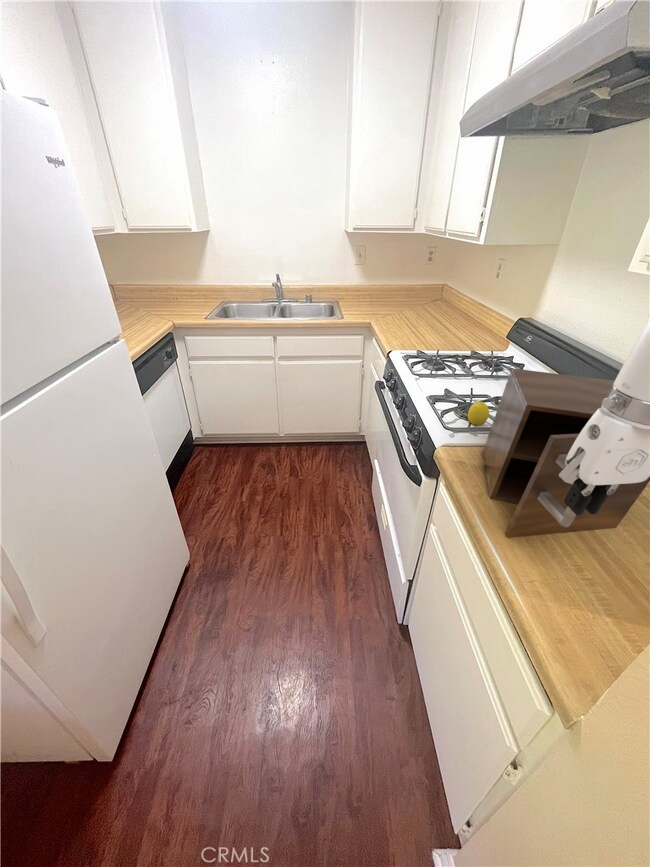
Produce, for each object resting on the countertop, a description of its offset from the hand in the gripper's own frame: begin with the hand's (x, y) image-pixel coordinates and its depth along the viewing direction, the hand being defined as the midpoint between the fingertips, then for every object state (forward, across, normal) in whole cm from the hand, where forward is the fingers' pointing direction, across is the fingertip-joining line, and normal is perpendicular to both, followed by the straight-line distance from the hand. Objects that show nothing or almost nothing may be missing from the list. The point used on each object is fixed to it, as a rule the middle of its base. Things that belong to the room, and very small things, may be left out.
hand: (579, 507), depth 54 cm
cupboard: (+15, +14, +21) cm, 29 cm away
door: (+15, +9, +4) cm, 18 cm away
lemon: (+15, +10, +48) cm, 51 cm away
